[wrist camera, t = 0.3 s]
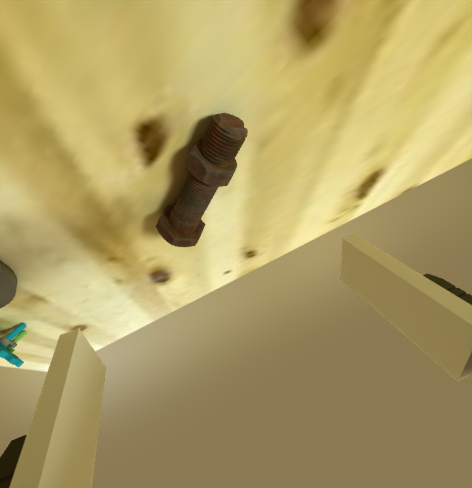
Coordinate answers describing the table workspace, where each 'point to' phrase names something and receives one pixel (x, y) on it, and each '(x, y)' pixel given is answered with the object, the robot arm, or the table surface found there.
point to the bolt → (203, 180)
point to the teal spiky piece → (11, 345)
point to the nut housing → (7, 284)
